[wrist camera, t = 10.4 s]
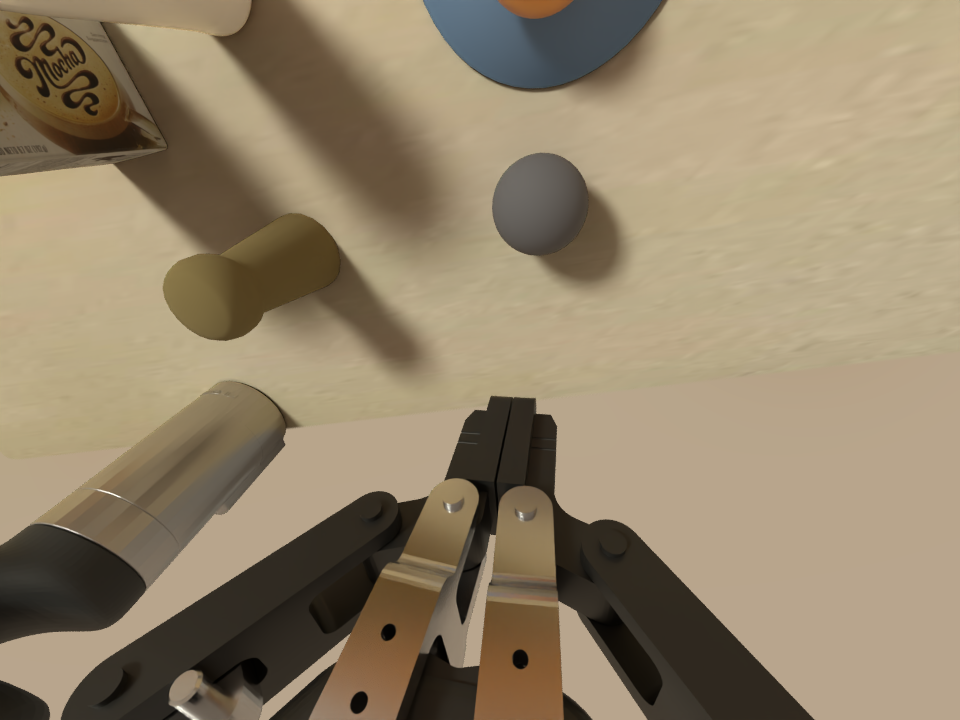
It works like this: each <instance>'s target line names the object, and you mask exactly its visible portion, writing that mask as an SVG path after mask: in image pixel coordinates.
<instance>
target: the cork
mask: <svg viewBox="0 0 960 720" xmlns="http://www.w3.org/2000/svg"><path fill="white" fill-rule="evenodd" d="M339 270H340V256H339V252H338V248H337V246H336V244H335V242H334V240H333V238H332V236H331V235H330V234H329V233H328V232H327V230H326V229H325V228H324V227H323V226H322V225H321V224H319V223H318V222H317V221H315V220H314V219H313V218H310V217H307V216H305V215H302V214H292V213H290V214H287V215H284V216H281V217H279V218H278V219H276V220H275V221H273V222H271V223H270V224H268V225H267V226H265V227H263V228H262V229H260V230H259V231H257V232H255V233H254V234H252V235H251V236H249V237H247V238H246V239H244V240H243V241H241V242H239V243H238V244H236V245H235V246H233V247H231V248H230V249H228V250H227V251H225V252H223V253H222V254H220V255H219V254H197V255H194V256H191V257H188V258H186V259H183V260H180V261H178V262H177V263H176V264H175V265H173V266H172V268H171V269H170V270H169V271H168V273H167V274H166V277H165V279H164V284H163V292H164V297H165V300H166V302H167V304H168V306H169V308H170V310H171V311H172V312H173V314H174V315H175V316H176V318H177V319H178V320H179V321H180V322H181V323H182V324H183V325H184V326H185V327H187V328H188V329H189V330H191V331H192V332H194V333H196V334H197V335H199V336H202V337H204V338H207V339H211V340H223V341H227V340H231V339H235V338H239V337H242V336H244V335H246V334H247V333H248V332H250V331H251V330H252V329H253V328H255V327H256V326H257V325H258V323H259V322H260V321H261V319H262V316H263V314H264V312H267V311H269V310H271V309H274V308H276V307H278V306H281V305H283V304H285V303H288V302H290V301H293V300H295V299H297V298H300V297H302V296H304V295H307V294H309V293H311V292H314V291H316V290H319V289H321V288H323V287H326V286H328V285H329V284H331V283H332V282H333V281H334V280H335V279H336V277H337V275H338V273H339Z"/></svg>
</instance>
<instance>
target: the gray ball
mask: <svg viewBox="0 0 960 720" xmlns="http://www.w3.org/2000/svg"><path fill="white" fill-rule="evenodd" d="M492 211H493V218H494V222H495V225H496V228H497V230H498V232H499V234H500V235H501V237H502V238H503V239H504V241H505V242H506V243H507V244H508V245H510V246H511V247H512V248H514V249H515V250H517V251H519V252H522V253H524V254H528V255H536V256H540V255H547V254H551V253H554V252H556V251H558V250H560V249H562V248H564V247H565V246H567V245H568V244H569V243H570V242H571V241H572V240H573V239H574V238H575V237H576V236H577V234H578V233H579V231H580V230H581V228H582V226H583V224H584V222H585V219H586V215H587V211H588V191H587V187H586V184H585V181H584V179H583V177H582V175H581V174H580V172H579V171H578V169H577V168H576V167H575V166H574V165H573V164H572V163H571V162H569V161H568V160H566V159H565V158H563V157H561V156H558V155H555V154H550V153H536V154H531V155H528V156H526V157H523V158H521V159H519V160H518V161H516V162H515V163H514V164H512V165H511V166H510V167H509V168H508V169H507V170H506V171H505V173H504V174H503V175H502V177H501V178H500V180H499V182H498V184H497V186H496V189H495V192H494V196H493V204H492Z"/></svg>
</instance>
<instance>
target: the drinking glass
mask: <svg viewBox="0 0 960 720" xmlns="http://www.w3.org/2000/svg"><path fill="white" fill-rule="evenodd" d="M251 2H252V0H0V10H1V11H8V12H15V13H21V14H29V15H37V16H46V17H56V18H66V19H77V20H87V21H98V22H109V23H120V24H130V25H140V26H150V27H160V28H169V29H179V30H188V31H196V32H200V33H205V34H209V35H214V36H229V35H232V34H234V33H236V32H238V31H239V30H240V29H241V28H242V27H243V26H244V24H245V23H246V21H247V19H248V16H249V13H250V9H251Z"/></svg>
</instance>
